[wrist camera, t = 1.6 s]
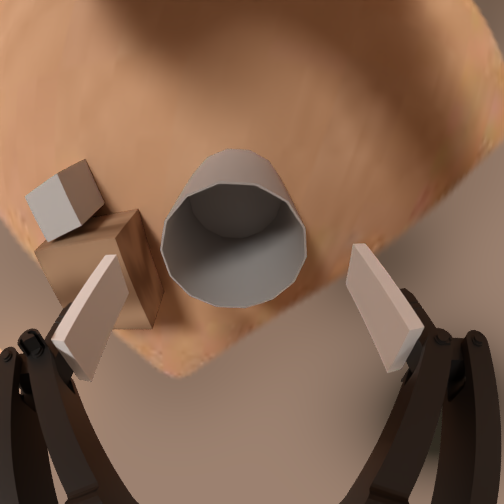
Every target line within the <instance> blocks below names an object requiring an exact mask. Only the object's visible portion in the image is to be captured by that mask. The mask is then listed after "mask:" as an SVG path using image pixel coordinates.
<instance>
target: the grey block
mask: <svg viewBox="0 0 504 504" xmlns="http://www.w3.org/2000/svg"><path fill="white" fill-rule="evenodd" d="M25 198H26V200H27V203H28V205H29V207H30V209H31V211H32V213H33V215H34V217H35V219H36V221H37V223H38V225H39V227H40V229H41V231H42V233H43V235H44V236H45V238H46V240H47V242H50V241H52V240H54V239H56V238H57V237H59V236H61V235H63V234H65V233H67V232H69V231H71V230H74V229H76V228H78V227H80V226H82V225H83V224H84V223H85V222H86V221H87V220H88V219H89V218H90V217H91V216H92V215H93V214H94V213H95V212H96V211H97V210H98V209H99V208H101V207H102V206H103V205H104V204H105V203H104V201H103V199H102V196H101V194H100V192H99V190H98V188H97V185H96V183H95V181H94V179H93V176H92V174H91V172H90V169H89V167H88V165H87V162H86V160H85V159H84V160H82V161H80V162H78V163H76V164H74V165H72V166H70V167H68V168H66V169H64V170H62V171H61V172H59V173H57V174H55V175H54V176H52V177H51V178H50V179H48V180H47V181H45V182H44V183H42V184H41V185H40V186H38V187H37V188H36V189H34V190H33V191H32V192H30V193H29V194H28V195H26V196H25Z"/></svg>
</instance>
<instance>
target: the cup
mask: <svg viewBox="0 0 504 504" xmlns="http://www.w3.org/2000/svg"><path fill="white" fill-rule="evenodd" d="M160 251H161V254H162V257H163V259H164V262H165V265H166V268H167V270H168V273H169V276H170V277H171V278H172V279H173V280H174V281H175V282H176V283H177V284H178V285H179V286H180V287H181V288H182V289H183V290H184V291H185V292H186V293H187V294H188V295H189V296H191V297H193V298H196V299H198V300H201V301H203V302H205V303H208V304H210V305H213V306H215V307H228V308H248V307H251V306H254V305H257V304H260V303H264V302H267V301H270V300H273V299H274V298H275V297H277V296H278V295H279V294H280V293H282V292H283V291H284V290H285V289H287V288H288V287H289V286H290V285H291V284H293V283H294V282H295V280H296V278H297V276H298V274H299V272H300V270H301V268H302V266H303V264H304V262H305V260H306V258H307V249H306V229H305V226H304V224H303V222H302V220H301V218H300V216H299V214H298V212H297V210H296V208H295V206H294V204H293V202H292V200H291V198H290V196H289V194H288V192H287V190H286V188H285V186H284V184H283V182H282V180H281V178H280V176H279V175H278V173H277V172H276V170H275V169H274V168H273V166H272V165H271V163H270V162H269V160H267V159H265V158H263V157H261V156H260V155H258V154H256V153H254V152H253V151H251V150H241V149H226V150H223V151H221V152H218V153H216V154H214V155H211V156H209V157H207V158H206V159H205V160H204V161H203V163H202V164H201V165H200V166H199V167H198V168H197V170H196V171H195V172H194V173H193V175H192V176H191V178H190V179H189V181H188V183H187V184H186V186H185V187H184V189H183V191H182V192H181V194H180V196H179V197H178V199H177V201H176V202H175V204H174V206H173V207H172V209H171V211H170V212H169V214H168V216H167V218H166V219H165V222H164V228H163V234H162V240H161V247H160Z"/></svg>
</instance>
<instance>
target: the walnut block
mask: <svg viewBox="0 0 504 504" xmlns="http://www.w3.org/2000/svg"><path fill="white" fill-rule="evenodd" d="M34 252H35V254H36V257H37V259H38V261H39V263H40V265H41V267H42V269H43V271H44V273H45V276H46V278H47V279H48V281H49V283H50V285H51V287H52V289H53V291H54V293H55V295H56V296H57V298H58V300H59V302H60V304H61V305H62V307H63V308H65V307H66V306H67V305H68V304H69V303H70V302H73V301H74V300H75V298H76V297H77V295H78V294H79V292H80V291H81V289H82V288H83V286H84V285H85V283H86V282H87V280H88V279H89V277H90V276H91V274H92V273H93V272H94V270H95V269H96V267H97V266H98V265H99V263H100V262H101V260H102V259H103V258H104V256H105V255H116V254H117V258H118V261H119V264H120V267H121V271H122V274H123V277H124V280H125V283H126V286H127V289H128V292H129V294H128V296H127V299H126V301H125V303H124V305H123V307H122V309H121V311H120V314H119V316H118V318H117V320H116V323H115V325H114V327H113V329H153V325H154V322H155V319H156V315H157V312H158V309H159V306H160V303H161V300H162V296H163V293H164V290H163V287H162V284H161V281H160V278H159V276H158V273H157V270H156V267H155V264H154V260H153V257H152V254H151V251H150V248H149V245H148V241H147V238H146V235H145V231H144V228H143V224H142V221H141V217H140V214H139V210H138V209H135V210H130V211H124V212H119V213H113V214H108V215H103V216H98V217H93V218H89V219H88V220H87V221H86V222H85V223H84V224H83V225H82V226H80V227H78V228H76V229H74V230H71V231H69V232H67V233H65V234H63V235H61V236H59V237H57V238H56V239H54V240H52V241H50V242H47V240H45V241H44V242H43V243H42V244H41V245H40V246H39V247H38V248H37V249H36V250H35V251H34Z"/></svg>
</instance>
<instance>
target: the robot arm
mask: <svg viewBox="0 0 504 504" xmlns="http://www.w3.org/2000/svg"><path fill="white" fill-rule="evenodd" d="M346 286H347V288H348V290H349V292H350V294H351V296H352V298H353V300H354V302H355V304H356V306H357V308H358V310H359V312H360V315H361V316H362V318H363V321H364V323H365V325H366V327H367V329H368V331H369V333H370V336H371V338H372V340H373V342H374V344H375V346H376V349H377V351H378V353H379V356H380V358H381V360H382V362H383V365H384V367H385V369H386V371H387V373H389V372H393V371H397V370H401V369H402V367H403V366H404V364H405V362H407V364H408V366H409V369H408V370H407V372H406V373H405V375H404V377H403V378H402V380H401V382H403V384H402V386H401V389H400V391H399V394H398V397H397V399H396V402H395V404H394V407H393V409H392V411H391V414H390V416H389V418H388V421H387V423H386V425H385V427H384V429H383V431H382V433H381V436H380V438H379V440H378V442H377V444H376V446H375V447H374V450H373V451H372V453H371V455H370V457H369V459H368V461H367V462H366V464H365V466H364V468H363V469H362V471H361V473H360V474H359V476H358V478H357V479H356V481H355V483H354V484H353V486H352V487H351V489H350V490H349V492H348V494H347V495H346V496H345V498H344V499H343V500H342V501H341V502H340V503H339V504H409V502H408V498H409V496H410V494H411V491H412V489H413V487H414V485H415V483H416V481H417V478H418V476H419V474H420V471H421V469H422V467H423V464H424V462H425V459H426V456H427V454H428V451H429V448H430V445H431V442H432V439H433V436H434V433H435V430H436V426H437V423H438V420H439V416H440V412H441V409H442V431H441V443H440V453H439V462H438V469H437V475H436V481H435V487H434V492H433V497H432V501H431V504H497V498H498V491H499V481H500V470H501V423H500V410H499V401H498V392H497V385H496V379H495V374H494V368H493V363H492V358H491V353H490V349H489V346H488V341H487V339H486V337H485V336H484V335H483V334H482V333H481V332H479V331H476V330H471V331H469V332H468V333H467V335H466V337H465V338H452V336H451V335H450V334H449V333H448V332H447V331H445V330H444V329H440V328H436V327H435V326H434V324H433V323H432V321H431V319H430V318H429V317H428V315H427V314H426V312H425V311H424V309H422V306H421V305H420V304H419V303H418V301H417V300H416V298H415V297H414V295H413V294H412V293H410V292H409V291H408V290H407V289H405V288H404V289H399V288H398V287H397V285H396V284H395V283H394V281H393V280H392V278H391V277H390V275H389V274H388V273H387V271H386V270H385V269H384V267H383V266H382V265H381V263H380V262H379V261H378V259H377V258H376V257H375V255H374V254H373V253H372V251H371V250H370V249H369V248H368V246H367V245H366V244H365V243H360V244H353V246H352V252H351V258H350V263H349V269H348V274H347V279H346ZM128 294H129V292H128V289H127V286H126V283H125V280H124V277H123V274H122V271H121V267H120V264H119V261H118V258H117V254H116V255H105V256H104V258H103V259H102V260H101V262H100V263H99V265H98V266H97V267H96V269H95V270H94V272H93V273H92V274H91V276H90V277H89V279H88V280H87V282H86V283H85V285H84V286H83V288H82V289H81V291H80V292H79V294H78V295H77V297H76V298H75V300H74V301H73V302H70V303H69V304H68V305H67V306H66V307H65V308H63V310H62V312H61V313H60V315H59V317H58V318H57V320H56V321H55V322H56V323H54V325H53V326H52V328H51V330H50V331H49V333H48V335H47V336H46V338H45V340H44V339H43V338H42V336H41V334H40V333H39V331H38V330H36V329H29V330H27V331H25V332H24V333H23V334H22V335H21V336H20V338H19V339H18V346H19V347H20V349H21V350H22V351H23V354H19V353H18V352H17V351H16V349H15V348H13V347H8V348H6V349H4V350H3V351H2V352H1V354H0V504H58V500H57V496H56V493H55V488H54V484H53V479H52V474H51V469H50V463H49V456H48V451H49V454H50V456H51V459H52V462H53V464H54V467H55V469H56V472H57V474H58V476H59V479H60V481H61V483H62V485H63V487H64V490H65V492H66V494H67V497H68V500H67V501H66V502H65V504H139V503H138V502H136V500H135V499H134V498H133V497H132V495H131V494H130V492H129V491H128V490H127V488H126V486H125V485H124V483H123V482H122V481H121V479H120V477H119V476H118V474H117V472H116V471H115V469H114V467H113V466H112V464H111V462H110V460H109V458H108V457H107V455H106V453H105V451H104V449H103V447H102V445H101V444H100V441H99V439H98V437H97V435H96V434H95V431H94V429H93V427H92V425H91V423H90V420H89V418H88V416H87V414H86V411H85V409H84V407H83V404H82V401H81V399H80V396H79V394H78V391H77V389H76V386H75V383H74V381H73V379H72V378H71V376H72V374H73V372H74V373H75V375H76V376H77V377H78V378H79V379H80V380H85V381H90V382H92V379H93V377H94V374H95V371H96V369H97V366H98V364H99V361H100V358H101V356H102V353H103V351H104V348H105V346H106V344H107V341H108V339H109V336H110V334H111V332H112V329H113V327H114V325H115V323H116V320H117V318H118V316H119V314H120V311H121V309H122V307H123V305H124V303H125V301H126V299H127V296H128ZM19 388H20V389H21V394H19ZM47 448H48V449H47Z"/></svg>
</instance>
